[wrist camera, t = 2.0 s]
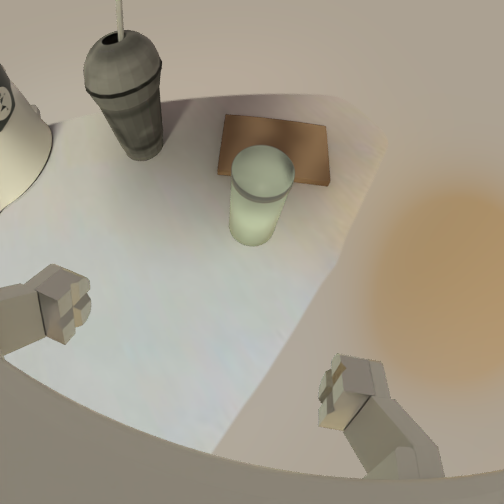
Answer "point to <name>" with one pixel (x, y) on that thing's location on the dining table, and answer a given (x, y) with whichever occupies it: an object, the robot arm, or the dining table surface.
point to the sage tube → (258, 192)
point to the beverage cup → (127, 88)
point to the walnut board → (278, 145)
